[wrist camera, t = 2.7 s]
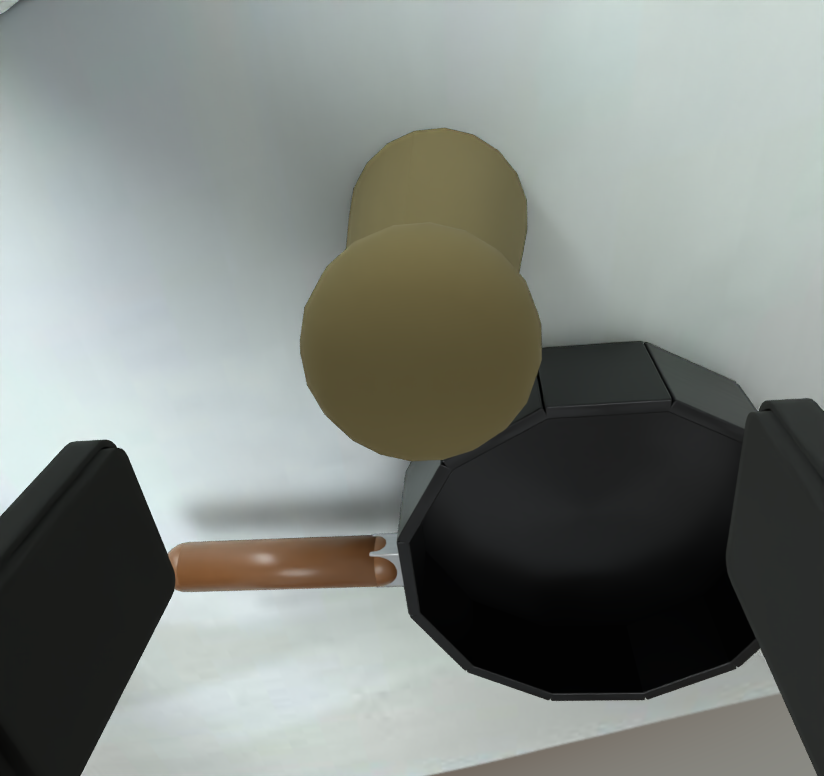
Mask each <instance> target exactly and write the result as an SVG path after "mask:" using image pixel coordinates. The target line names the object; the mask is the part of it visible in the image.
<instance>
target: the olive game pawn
mask: <svg viewBox="0 0 824 776" xmlns="http://www.w3.org/2000/svg"><path fill="white" fill-rule="evenodd" d="M526 233H527V200H526V197H525V195H524V192H523V189H522V186H521V183H520V181H519V178H518V175H517V173H516V172H515V171H514V169H513V168H512V167H511V166H510V164H509V163H508V162H507V161H506V159H505V158H504V157H503V155H502V154H501V153H500V152H499V151H498V150H497V149H495V148H494V147H492V146H490V145H489V144H487V143H486V142H484V141H483V140H481V139H479V138H478V137H476V136H475V135H472V134H468V133H464V132H460V131H455V130H451V129H447V128H438V129H428V130H419V131H413V132H411V133H409V134H407V135H405V136H403V137H400V138H398V139H396V140H394V141H392V142H390V143H388V144H386V145H385V146H384V147H383V148H382V149H381V150H380V151H379V152H378V153H377V154H376V155H375V156H374V157H373V158H372V159H371V160H370V161H369V162H368V163H367V164H366V166H365V168H364V170H363V171H362V173H361V175H360V177H359V179H358V181H357V183H356V185H355V187H354V189H353V195H352V201H351V207H350V213H349V222H348V232H347V243H346V249H345V250H344V251H343V252H342V253H341V254H340V255H339V256H338V257H337V258H336V259H334V260H333V261H332V262H331V263H330V264H329V265H328V266H327V267H326V269H325V270H324V272H323V274H322V275H321V277H320V279H319V281H318V283H317V285H316V287H315V289H314V290H313V292H312V294H311V296H310V298H309V300H308V302H307V304H306V305H305V307H304V314H303V322H302V329H301V336H300V354H301V359H302V363H303V368H304V373H305V377H306V382H307V386H308V388H309V389H310V391H311V393H312V394H313V396H314V398H315V399H316V401H317V403H318V404H319V406H320V408H321V409H322V411H323V413H324V414H325V415H326V416H327V417H328V418H329V419H330V420H331V421H332V422H333V423H334V424H335V425H336V426H337V427H338V428H340V429H341V430H342V431H343V432H344V433H345V434H346V435H347V436H348V437H349V438H351V439H352V440H353V441H355V442H357V443H359V444H361V445H363V446H365V447H367V448H368V449H370V450H372V451H374V452H376V453H378V454H380V455H385V456H389V457H394V458H399V459H403V460H408V461H428V460H444V459H447V458H450V457H453V456H457V455H460V454H463V453H466V452H469V451H472V450H474V449H476V448H478V447H479V446H481V445H482V444H484V443H485V442H487V441H488V440H490V439H491V438H493V437H494V436H496V435H497V434H499V433H500V432H502V431H503V430H505V429H506V428H507V427H508V426H509V425H510V423H511V422H512V421H513V420H514V418H515V417H516V416H517V415H518V413H519V412H520V411H521V410H522V408H523V407H524V406H525V405H526V403H527V401H528V398H529V396H530V393H531V390H532V387H533V384H534V381H535V379H536V376H537V373H538V370H539V367H540V364H541V361H542V339H541V322H540V318H539V315H538V312H537V309H536V307H535V304H534V301H533V299H532V296H531V293H530V291H529V288H528V286H527V283H526V281H525V279H524V278H523V277H522V276H521V275H520V274H519V271H520V266H521V261H522V255H523V250H524V244H525V239H526Z"/></svg>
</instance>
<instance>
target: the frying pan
mask: <svg viewBox="0 0 824 776" xmlns="http://www.w3.org/2000/svg"><path fill="white" fill-rule="evenodd" d="M756 411H757V410H756V408H755V407H754V405H753V404H752V403H751V401H750V400H749V398H748V397H747V396H746V394H745V393H744V391H743V390H742V388H741V387H740V386H739V384H737V383H736V382H735V381H733V380H731V379H728V378H726V377H724V376H722V375H719V374H717V373H715V372H713V371H710V370H708V369H706V368H704V367H701V366H699V365H697V364H695V363H692V362H690V361H688V360H686V359H683V358H681V357H679V356H677V355H674V354H672V353H670V352H668V351H665V350H663V349H661V348H659V347H656V346H654V345H652V344H650V343H647V342H645V343H644V344H643V342H642V341H638V342H624V343H610V344H596V345H582V346H568V347H554V348H542V361H541V364H540V367H539V370H538V373H537V376H536V379H535V381H534V384H533V387H532V390H531V393H530V396H529V398H528V401H527V403H526V405H525V406H524V407H523V408H522V410H521V411H520V412H519V413H518V415H517V416H516V417H515V418H514V420H513V421H512V422H511V423H510V425H509V426H508V427H507V428H506V429H505V430H503V431H502V432H500V433H499V434H497V435H496V436H494V437H493V438H491V439H490V440H488V441H487V442H485V443H484V444H482V445H481V446H479V447H478V448H476V449H474V450H472V451H469V452H466V453H463V454H460V455H457V456H453V457H450V458H447V459H444V460H428V461H412V462H411V463H410V465H409V467H408V469H407V471H406V474H405V481H404V488H403V496H402V504H401V511H400V519H399V526H398V533H385V534H373V535H360V536H333V537H307V538H281V539H255V540H229V541H203V542H186V543H182V544H179V545H177V546H176V547H174V548H173V549H172V550H171V551H170V552H169V553H168V556H169V559H170V561H171V564H172V566H173V569H174V572H175V579H176V580H175V588H174V589H175V590H178V591H181V592H207V591H242V590H277V589H311V588H346V587H404V590H405V596H406V601H407V607H408V613H409V615H410V617H411V618H412V619H413V620H414V621H415V622H416V623H417V624H418V625H419V626H420V627H421V628H422V629H423V630H424V631H425V632H426V633H427V634H428V635H429V636H430V637H431V638H432V639H433V640H434V641H435V642H436V643H437V644H438V645H439V646H440V647H441V648H442V649H443V650H444V651H445V652H446V653H447V654H448V655H450V656H451V657H452V658H453V659H454V660H455V661H456V662H457V663H458V664H459V665H460V666H461V667H462V668H463V669H464V670H467V672H468V673H471V674H474V675H477V676H480V677H483V678H486V679H488V680H491V681H494V682H497V683H500V684H503V685H506V686H509V687H512V688H514V689H517V690H520V691H523V692H526V693H529V694H532V695H535V696H537V697H540V698H543V699H546V700H550V699H551V700H552V701H590V700H645V698H646V699H651V698H654V697H656V696H659V695H662V694H665V693H668V692H671V691H674V690H677V689H679V688H682V687H685V686H688V685H691V684H694V683H697V682H700V681H703V680H705V679H708V678H711V677H714V676H717V675H720V674H723V673H726V672H729V671H731V670H734V669H736V666H737V667H740V666H741V665H742V664H743V663H744V662H746V661H747V660H748V659H749V658H750V657H751V656H752V655H753V654H754V653H756V652H757V651H758V650H759V649H760V646H759V644H758V641H757V639H756V637H755V635H754V633H753V630H752V628H751V626H750V624H749V621H748V619H747V617H746V615H745V612H744V610H743V608H742V606H741V603H740V601H739V599H738V597H737V595H736V592H735V590H734V588H733V586H732V583H731V581H730V578H729V576H728V572H727V566H726V549H727V543H728V536H729V529H730V523H731V516H732V510H733V503H734V496H735V490H736V483H737V476H738V470H739V463H740V456H741V450H742V443H743V437H744V430H745V423H746V419H747V416H748V414H749V413H750V412H756Z"/></svg>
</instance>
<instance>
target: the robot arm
mask: <svg viewBox="0 0 824 776" xmlns="http://www.w3.org/2000/svg"><path fill="white" fill-rule="evenodd" d="M17 1H19V0H0V14H1V13H3V12H5V11H7V10H8V9H9V8H10V7H12V6H13V5H14V4H15V3H16V2H17ZM726 566H727V572H728V576H729V578H730V581H731V583H732V586H733V588H734V590H735V592H736V595H737V597H738V599H739V601H740V603H741V606H742V608H743V610H744V612H745V615H746V617H747V619H748V621H749V624H750V626H751V628H752V630H753V633H754V635H755V637H756V639H757V641H758V644H759V646H760V648H761V650H762V653H763V655H764V657H765V659H766V662H767V664H768V666H769V668H770V671H771V673H772V675H773V677H774V679H775V682H776V684H777V686H778V688H779V691H780V693H781V695H782V697H783V699H784V702H785V704H786V706H787V708H788V711H789V713H790V715H791V717H792V720H793V722H794V724H795V726H796V729H797V731H798V733H799V735H800V738H801V740H802V742H803V744H804V746H805V748H806V751H807V753H808V755H809V758H810V760H811V762H812V764H813V767H814V769H815V771H816V773H817V776H824V411H823V410H822V409H821V408H820V407H819V405H818V404H817V403H816V402H815V401H813V400H812V399H809V398H802V399H785V400H768V401H765V402H763V403H762V405H761V407H760V410H759V411H756V412H750V413H749V414H748V416H747V419H746V423H745V430H744V437H743V443H742V450H741V456H740V463H739V470H738V476H737V483H736V490H735V496H734V503H733V510H732V516H731V523H730V529H729V536H728V543H727V549H726ZM175 580H176V579H175V572H174V569H173V566H172V564H171V561H170V559H169V556H168V554H167V551H166V549H165V547H164V544H163V542H162V539H161V537H160V534H159V532H158V529H157V527H156V524H155V522H154V519H153V517H152V515H151V512H150V510H149V507H148V505H147V502H146V500H145V497H144V495H143V492H142V490H141V487H140V485H139V483H138V480H137V478H136V475H135V473H134V470H133V468H132V465H131V463H130V460H129V458H128V456H127V454H126V452H125V451H124V450H123V449H120V448H117V447H116V445H115V444H114V443H113V442H112V441H109V440H92V441H75V442H71V443H69V444H68V445H66V446H65V447H64V448H63V449H62V450H61V451H60V452H59V454H58V455H57V456H56V457H55V458H54V459H53V460H52V461H51V462H50V463H49V464H48V465H47V467H46V468H45V469H44V470H43V471H42V472H41V473H40V474H39V475H38V476H37V477H36V478H35V479H34V481H33V482H32V483H31V484H30V485H29V486H28V487H27V488H26V489H25V490H24V491H23V492H22V494H21V495H20V496H19V497H18V498H17V499H16V500H15V501H14V502H13V503H12V504H11V505H10V507H9V508H8V509H7V510H6V511H5V512H4V513H3V514H2V515H1V516H0V776H80V775H81V774H82V772H83V770H84V768H85V766H86V764H87V762H88V760H89V758H90V756H91V754H92V752H93V750H94V748H95V746H96V744H97V742H98V740H99V738H100V736H101V734H102V732H103V730H104V728H105V726H106V724H107V722H108V721H109V719H110V717H111V715H112V713H113V711H114V709H115V707H116V705H117V703H118V701H119V699H120V697H121V695H122V693H123V691H124V689H125V687H126V685H127V683H128V681H129V679H130V677H131V675H132V673H133V671H134V669H135V668H136V666H137V664H138V662H139V660H140V658H141V656H142V654H143V652H144V650H145V648H146V646H147V644H148V642H149V640H150V638H151V636H152V634H153V632H154V630H155V628H156V626H157V624H158V622H159V620H160V618H161V616H162V615H163V613H164V611H165V609H166V607H167V605H168V603H169V601H170V599H171V597H172V595H173V592H174V588H175Z"/></svg>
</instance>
